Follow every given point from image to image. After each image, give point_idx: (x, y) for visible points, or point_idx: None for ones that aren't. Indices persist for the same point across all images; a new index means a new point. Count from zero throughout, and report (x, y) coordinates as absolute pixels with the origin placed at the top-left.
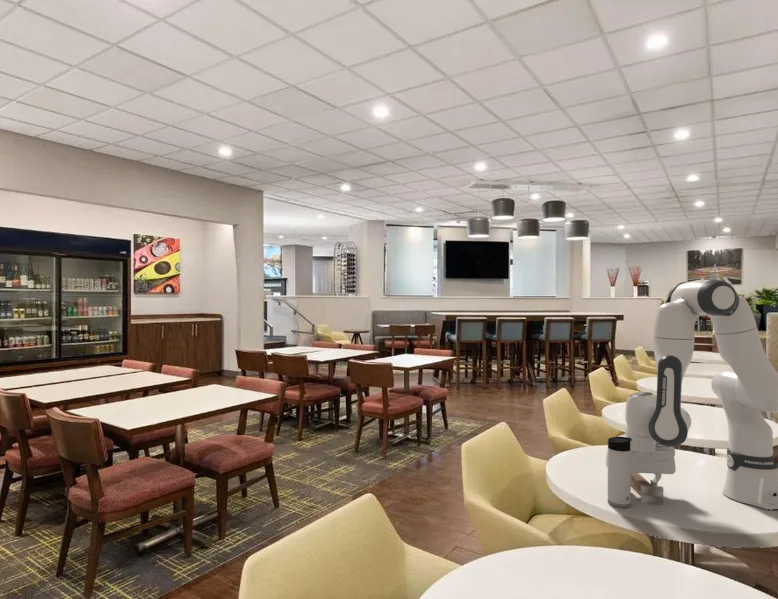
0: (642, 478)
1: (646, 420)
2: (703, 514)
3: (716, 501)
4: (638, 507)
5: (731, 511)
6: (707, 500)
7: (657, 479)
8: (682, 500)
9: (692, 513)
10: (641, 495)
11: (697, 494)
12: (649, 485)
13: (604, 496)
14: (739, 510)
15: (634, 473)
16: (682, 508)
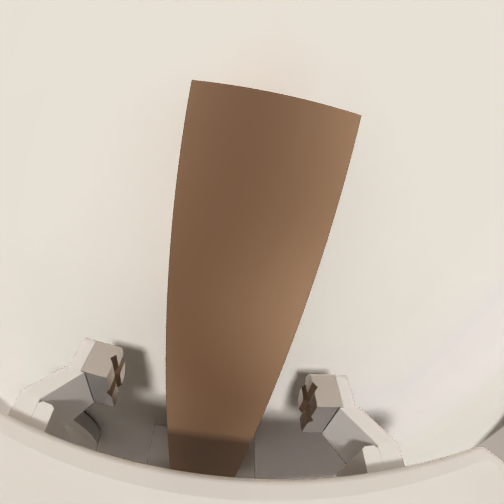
0: (243, 412)
1: None
2: (335, 475)
3: (479, 401)
4: (128, 445)
5: (436, 448)
6: (464, 401)
7: (337, 452)
8: (375, 419)
9: (305, 476)
10: (150, 456)
11: (495, 356)
12: (217, 474)
13: (9, 354)
14: (461, 437)
15: (241, 288)
16: (303, 462)
